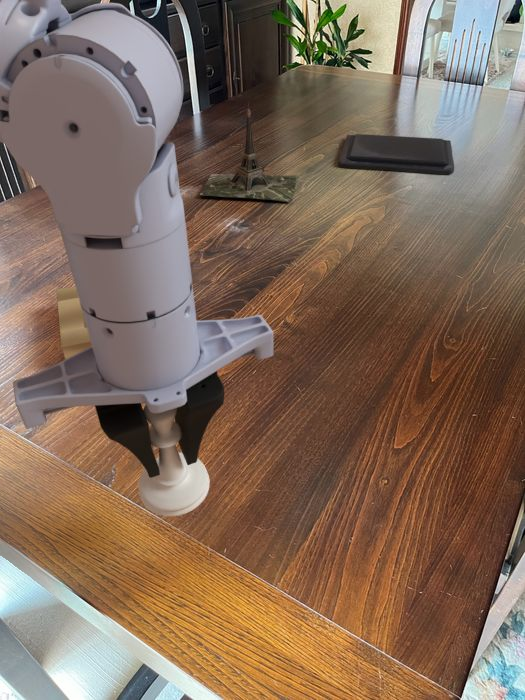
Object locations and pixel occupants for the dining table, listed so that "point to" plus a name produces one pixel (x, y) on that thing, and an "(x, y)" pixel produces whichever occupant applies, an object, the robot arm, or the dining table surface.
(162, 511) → the chess piece
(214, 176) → the eiffel tower figurine
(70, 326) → the socket
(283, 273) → the dining table surface
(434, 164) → the black flat block
